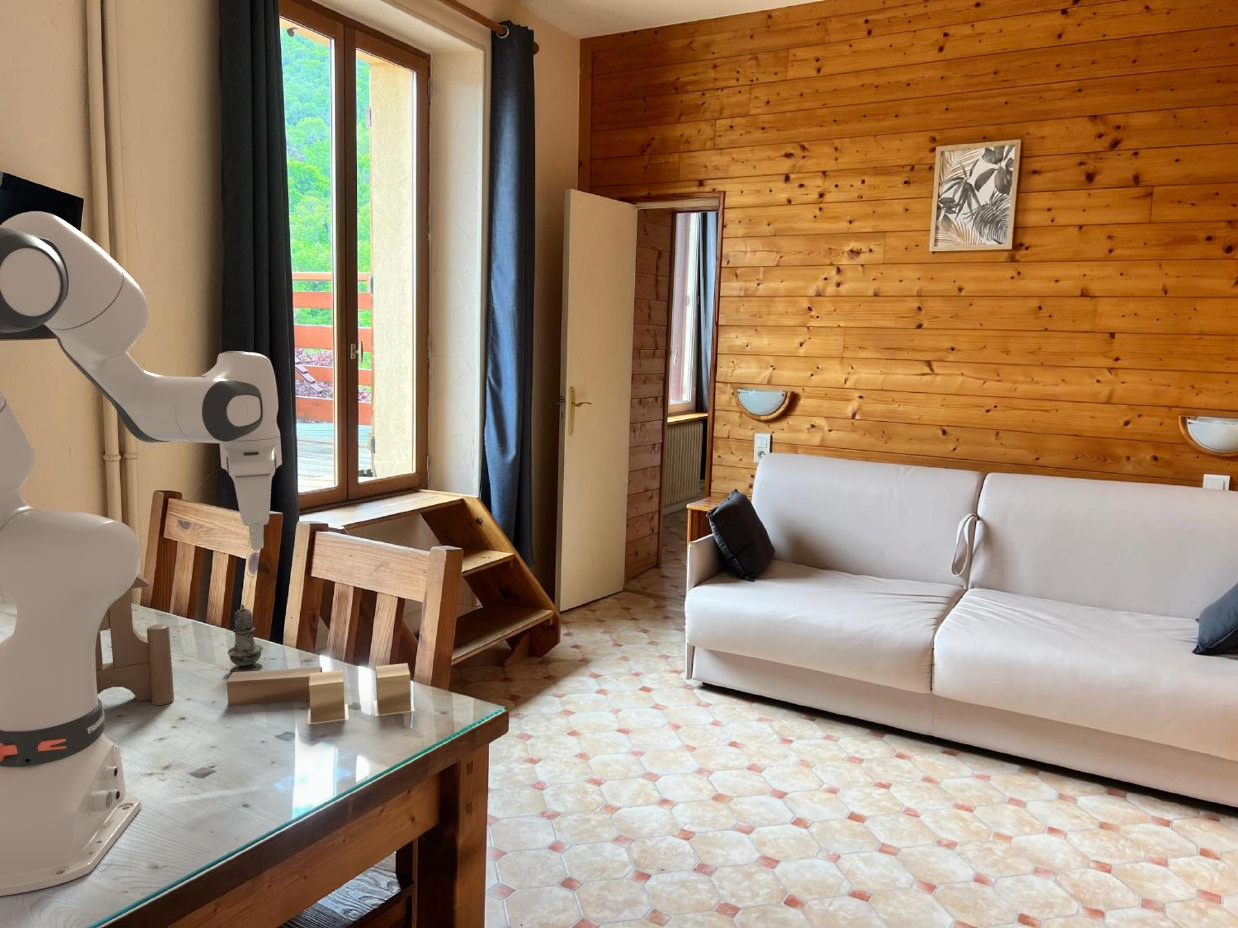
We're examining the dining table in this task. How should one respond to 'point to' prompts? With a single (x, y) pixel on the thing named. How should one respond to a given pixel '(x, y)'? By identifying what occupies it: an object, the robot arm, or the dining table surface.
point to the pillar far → (393, 688)
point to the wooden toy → (135, 654)
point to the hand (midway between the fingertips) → (257, 540)
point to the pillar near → (326, 696)
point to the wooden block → (269, 686)
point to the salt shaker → (244, 644)
